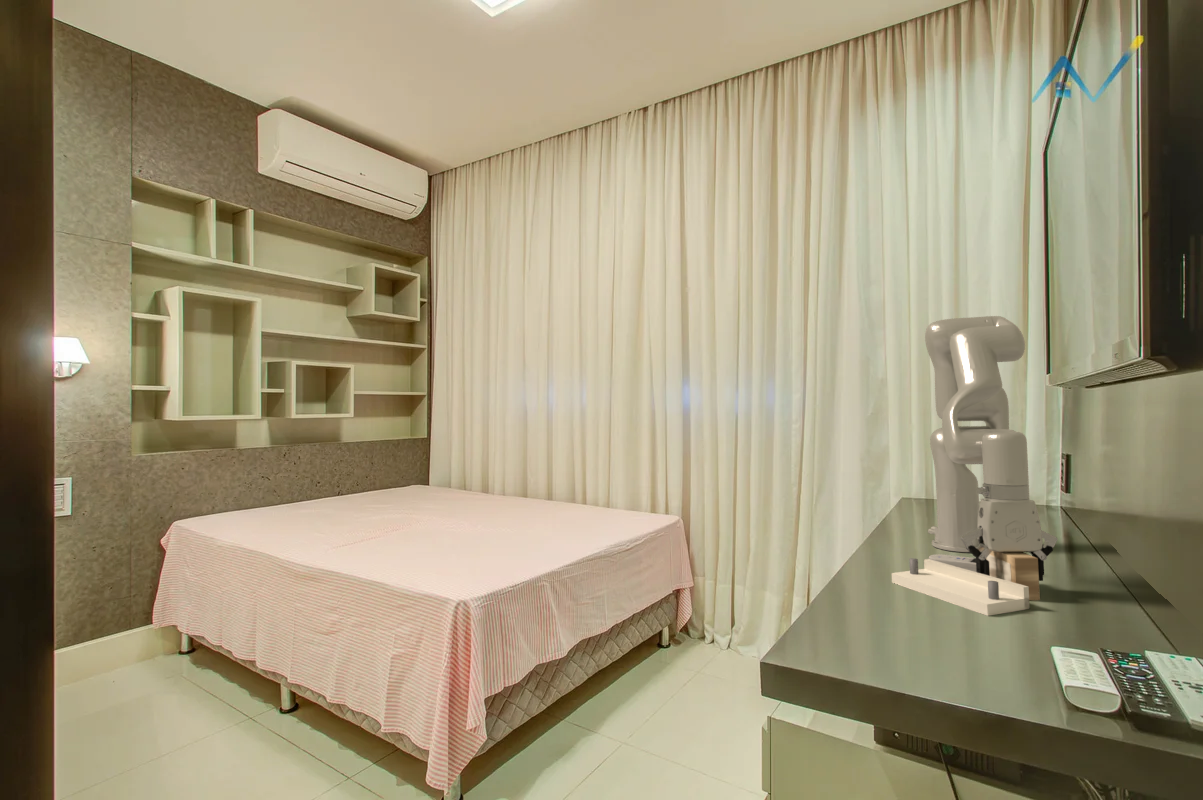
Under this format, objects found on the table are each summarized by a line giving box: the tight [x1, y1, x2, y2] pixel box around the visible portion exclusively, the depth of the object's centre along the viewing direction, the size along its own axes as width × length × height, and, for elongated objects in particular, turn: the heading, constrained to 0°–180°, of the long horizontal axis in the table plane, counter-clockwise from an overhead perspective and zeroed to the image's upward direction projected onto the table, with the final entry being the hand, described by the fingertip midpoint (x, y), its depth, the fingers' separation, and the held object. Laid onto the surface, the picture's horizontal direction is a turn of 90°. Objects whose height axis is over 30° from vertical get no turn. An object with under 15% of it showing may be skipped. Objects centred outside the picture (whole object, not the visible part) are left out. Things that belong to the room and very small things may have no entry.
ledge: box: [891, 558, 1030, 617], centre depth 115 cm, size 22×10×5 cm, turn 17°
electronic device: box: [928, 553, 977, 572], centre depth 133 cm, size 5×10×15 cm
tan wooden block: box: [986, 551, 1041, 601], centre depth 117 cm, size 12×4×8 cm, turn 172°
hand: (1010, 578), depth 117 cm, fingers open, 9 cm apart
